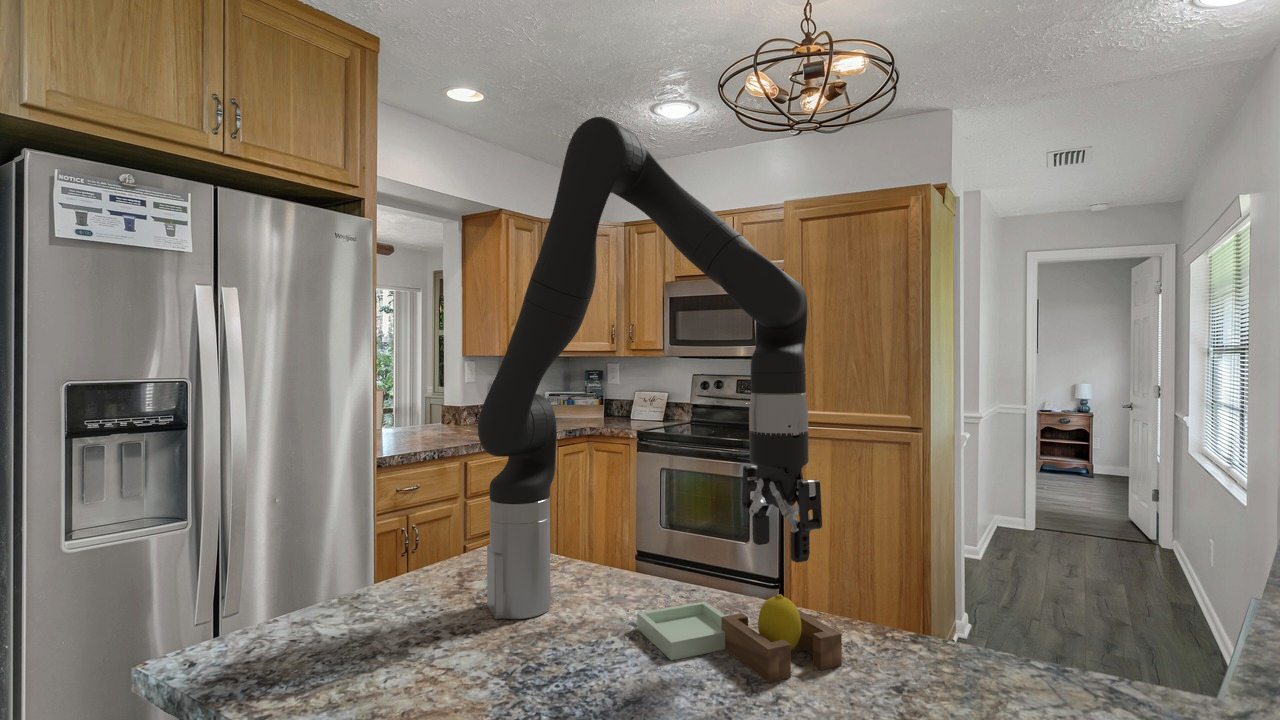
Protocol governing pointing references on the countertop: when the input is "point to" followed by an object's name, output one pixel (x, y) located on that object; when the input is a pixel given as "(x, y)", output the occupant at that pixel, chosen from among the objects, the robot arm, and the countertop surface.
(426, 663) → the countertop surface
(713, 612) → the dish
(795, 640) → the lemon
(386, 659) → the countertop surface
